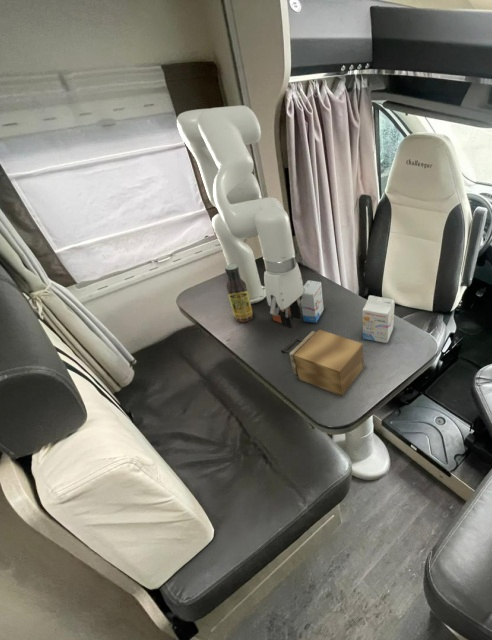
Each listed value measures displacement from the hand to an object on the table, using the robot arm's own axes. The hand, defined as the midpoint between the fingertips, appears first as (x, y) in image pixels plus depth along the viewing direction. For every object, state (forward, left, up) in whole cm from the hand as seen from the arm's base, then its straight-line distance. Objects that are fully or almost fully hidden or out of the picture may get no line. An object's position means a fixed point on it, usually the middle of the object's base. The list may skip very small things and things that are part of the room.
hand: (292, 321), depth 101 cm
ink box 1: (-10, +22, -15) cm, 29 cm away
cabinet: (+11, 0, -15) cm, 19 cm away
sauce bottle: (-31, +10, -15) cm, 36 cm away
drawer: (+6, 0, -14) cm, 16 cm away
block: (-19, +16, -15) cm, 29 cm away
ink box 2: (+15, +23, -15) cm, 32 cm away
